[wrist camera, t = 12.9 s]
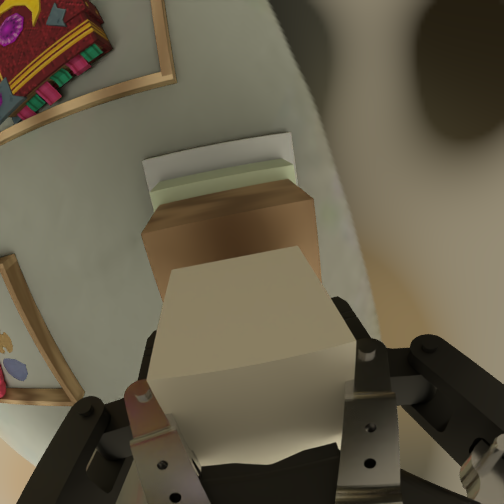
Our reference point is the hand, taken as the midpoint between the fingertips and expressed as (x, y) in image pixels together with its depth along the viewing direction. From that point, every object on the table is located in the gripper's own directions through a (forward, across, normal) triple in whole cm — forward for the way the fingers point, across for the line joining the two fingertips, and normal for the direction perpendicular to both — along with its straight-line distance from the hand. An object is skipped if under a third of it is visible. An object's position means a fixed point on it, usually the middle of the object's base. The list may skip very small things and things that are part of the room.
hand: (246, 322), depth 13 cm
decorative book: (+16, +14, -21) cm, 30 cm away
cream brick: (+1, 0, 0) cm, 1 cm away
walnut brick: (+11, 0, 0) cm, 11 cm away
